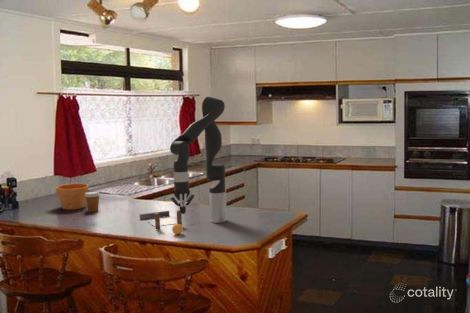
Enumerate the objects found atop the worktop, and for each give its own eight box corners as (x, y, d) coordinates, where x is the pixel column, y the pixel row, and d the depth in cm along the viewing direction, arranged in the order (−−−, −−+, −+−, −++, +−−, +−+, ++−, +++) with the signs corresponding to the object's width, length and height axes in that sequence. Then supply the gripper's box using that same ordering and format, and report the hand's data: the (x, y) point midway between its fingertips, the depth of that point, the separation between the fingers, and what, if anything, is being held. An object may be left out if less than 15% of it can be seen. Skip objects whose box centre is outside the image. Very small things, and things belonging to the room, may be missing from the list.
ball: (171, 233, 286) (170, 223, 285) (181, 232, 288) (180, 222, 287) (174, 236, 281) (173, 225, 280) (184, 234, 283) (184, 224, 282)
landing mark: (146, 221, 315) (146, 221, 315) (169, 218, 321) (169, 218, 321) (153, 226, 302) (153, 226, 302) (176, 223, 308) (176, 223, 308)
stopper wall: (139, 219, 323) (139, 214, 322) (168, 215, 330) (168, 210, 329) (140, 219, 321) (140, 214, 320) (169, 216, 328) (169, 211, 328)
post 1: (154, 229, 297) (154, 213, 296) (159, 228, 298) (158, 212, 297) (156, 230, 295) (155, 214, 294) (160, 229, 296) (159, 213, 295)
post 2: (176, 226, 302) (176, 210, 301) (181, 225, 303) (180, 210, 302) (178, 227, 300) (177, 211, 299) (182, 226, 301) (181, 210, 300)
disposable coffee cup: (87, 212, 344) (86, 194, 343) (84, 210, 352) (83, 192, 351) (102, 211, 348) (101, 192, 347) (98, 208, 357) (97, 190, 355)
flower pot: (96, 204, 369) (94, 183, 367) (76, 211, 349) (75, 189, 347) (70, 203, 376) (69, 182, 374) (50, 210, 357) (49, 188, 355)
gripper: (191, 178, 278) (192, 210, 280) (166, 180, 273) (168, 213, 275) (196, 179, 271) (197, 213, 273) (171, 182, 266) (172, 216, 268)
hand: (182, 213), depth 274 cm, fingers closed
